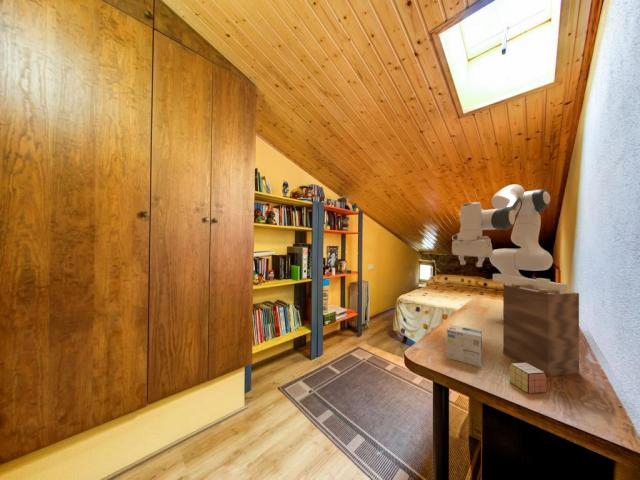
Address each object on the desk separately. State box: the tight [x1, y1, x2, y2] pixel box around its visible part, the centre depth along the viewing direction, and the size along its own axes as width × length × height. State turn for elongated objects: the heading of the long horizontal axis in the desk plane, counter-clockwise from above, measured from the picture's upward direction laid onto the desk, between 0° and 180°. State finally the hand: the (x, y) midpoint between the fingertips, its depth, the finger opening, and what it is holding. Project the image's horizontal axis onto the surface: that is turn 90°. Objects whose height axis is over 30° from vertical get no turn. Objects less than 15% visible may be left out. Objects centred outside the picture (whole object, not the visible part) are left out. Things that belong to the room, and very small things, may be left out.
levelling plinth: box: [502, 284, 580, 377], centre depth 81 cm, size 12×15×27 cm
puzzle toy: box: [509, 362, 546, 394], centre depth 67 cm, size 6×6×6 cm
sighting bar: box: [492, 273, 568, 294], centre depth 85 cm, size 3×24×4 cm, turn 8°
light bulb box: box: [446, 324, 483, 368], centre depth 83 cm, size 11×7×11 cm, turn 54°
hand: (470, 265), depth 108 cm, fingers open, 8 cm apart
